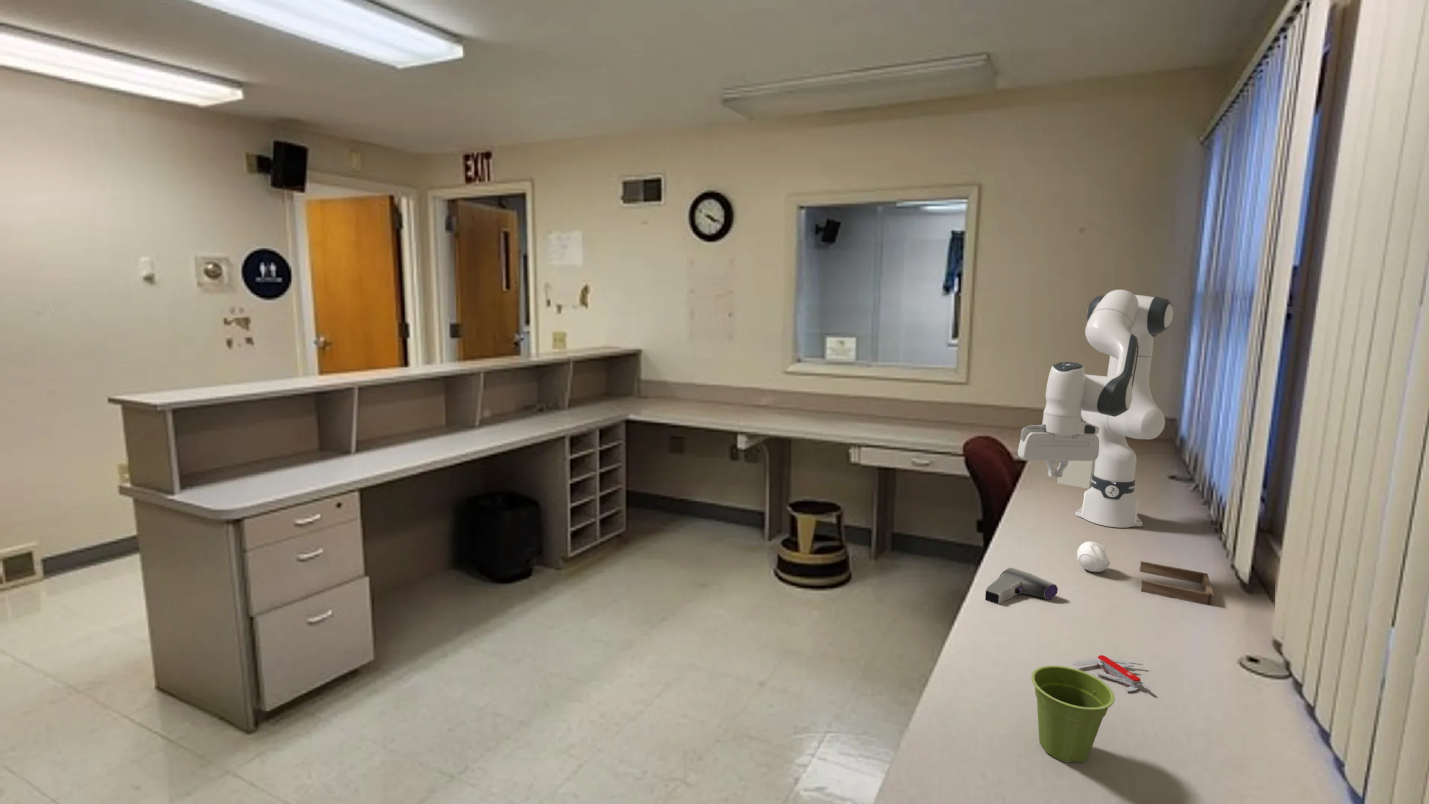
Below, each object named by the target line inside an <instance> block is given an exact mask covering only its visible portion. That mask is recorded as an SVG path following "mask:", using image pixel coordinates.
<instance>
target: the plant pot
mask: <svg viewBox="0 0 1429 804" xmlns="http://www.w3.org/2000/svg"><path fill="white" fill-rule="evenodd" d="M1031 682H1032V685H1033V686H1034V691H1035V692H1034V693H1035V694H1034V695H1035V697H1036V703H1037V704H1036V705H1037V707H1036V709H1037V720H1038V721H1037V723H1038V724H1037V726H1038V740H1039V742H1038V743H1039V745H1040V746H1041V747H1042V749H1043V750H1044V751H1045V753H1047V754H1048V755H1049V754H1050V756H1051V755H1052V756H1051V757H1053V758H1055V757H1056V758H1055V759H1057V760H1059V759H1060V760H1059V761H1062V760H1063V762H1065V761H1066V763H1071V762H1073V763H1074V762H1077V763H1083V762H1085V761H1087V760H1088V759H1089V756H1090V754H1091V752H1092V751H1091V750H1092V748H1093V745H1094V743H1095V740H1096V738H1097V734H1098V733H1099V729H1100V726H1101V724H1102V721H1103V718H1104V717H1106V714H1107V711H1108V709H1109V708H1110V707H1111V706H1113V704H1114V703H1115V701H1116V700H1115V699H1116V697H1115V693H1114V691H1113V690H1112V688H1111V687H1110V686H1109V685H1108V684H1106V682H1104V681H1102V679H1100V678H1098V677H1096V676H1094V675H1093V674H1090V673H1088V672H1086V671H1084V670H1080V669H1077V668H1074V667H1069V666H1064V665H1044V666H1040V667H1037V668H1036V669H1034V670H1033V671H1032V673H1031Z"/></svg>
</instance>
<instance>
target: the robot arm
mask: <svg viewBox="0 0 1429 804" xmlns="http://www.w3.org/2000/svg"><path fill="white" fill-rule="evenodd" d="M1086 315H1087V316H1086V318H1087V319H1086V320H1087V323H1086V325H1085V328H1084V330H1085V331H1084V333H1085V338H1086V340H1087V342H1088V344H1089V345H1090V346H1091V347H1092V348H1093V349H1095V350H1096V351H1098V352H1099V353H1102V354H1105V355H1108V356H1109V359H1108V360H1109V361H1108V368H1107V374H1106V376H1104V375H1097V374H1086V373H1085V367H1084V365H1082V364H1081V363H1078V362H1074V361H1060V362H1057V363H1054V364H1052V366H1051V368H1050V370H1049V374H1048V378H1047V382H1046V388H1045V401H1046V403H1045V408H1044V410H1043V415H1042V421H1041V422H1042V423H1041V424H1027V425H1026V426H1024V427H1022V429H1021V430H1020V441H1019V444H1018V448H1017V449H1018V450H1017V455H1018V456H1019V458H1020V459H1022V460H1024V461H1039V462H1040V461H1044V463H1045V466H1046V467H1047V469H1048V473H1047V474H1048V475H1047V476H1049V477H1050V478H1058V477H1062V475H1063V471H1064V469H1065V468H1066V467H1067V466H1068V461H1095V469H1094V474H1093V475H1092V478H1091V487H1090V488H1089V489H1088V488H1087V490H1086V491H1084V492H1083V501H1082V505H1081V507H1080V508H1079V509H1077V510H1076V511H1075V513H1074V515H1075V516H1076V517H1079V518H1082V519H1084V520H1086V521H1089V522H1091V523H1093V524H1096V525H1099V526H1100V525H1101V526H1105V527H1110V528H1120V529H1121V528H1122V529H1123V528H1131V527H1132V528H1133V527H1143V525H1144V524H1143V523H1144V522H1143V521H1141V519H1140V518H1139V516H1138V506H1139V499H1138V498H1137V497H1136V495H1135V493H1134V492H1135V488H1136V480H1135V474H1136V466H1137V455H1136V452H1135V451H1134V450H1133V449H1132V448H1131V447H1130V446H1129V444H1128V442H1127V439H1126V438H1127V437H1128V438H1130V439H1135V440H1153V439H1156V438H1157V437H1159V435H1161V433H1162V432H1163V431H1164V429H1165V424H1166V418H1165V415H1164V413H1163V411H1162V410H1161V409H1160V408H1159V407H1158V405H1157V404H1156V402H1155V401H1154V398H1153V396H1152V393H1151V388H1150V387H1151V386H1150V373H1151V366H1152V365H1151V364H1152V358H1153V352H1154V351H1153V349H1154V338H1155V337H1156V336H1157V335H1158V334H1162V333H1163V332H1165V331H1166V330H1167V329H1168V328H1169V326H1170V325H1171V322H1172V320H1173V316H1174V309H1173V304H1172V303H1171V301H1170V300H1169V299H1168V298H1165V297H1160V296H1157V295H1156V296H1149V295H1141V294H1140V295H1139V294H1134V293H1132V292H1131V291H1128V290H1126V289H1114V290H1111V291H1109V292H1108V293H1106V294H1102V295H1098V296H1096V297H1094V298H1093V299H1091V300H1090V303H1089V304H1088V307H1087V312H1086ZM1057 461H1058V463H1060V465H1059V464H1058V467H1057V468H1054V466H1053V465H1055V463H1056V462H1057Z"/></svg>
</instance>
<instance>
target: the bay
mask: <svg viewBox="0 0 1429 804" xmlns="http://www.w3.org/2000/svg"><path fill="white" fill-rule="evenodd" d="M1139 572H1141V573H1145V574H1146V573H1147V574H1151V575H1155V576H1162V577H1167V578H1171V579H1172V578H1173V579H1177V580H1183V581H1187V582H1192V583H1199V584H1201V585H1202V586H1201V587H1202V590H1203V591H1201V590H1199V591H1198V590H1193V589H1189V588H1185V587H1184V588H1183V587H1178V586H1174V585H1173V586H1172V585H1168V584H1164V583H1163V584H1162V583H1159V582H1158V583H1157V582H1153V581H1149V580H1144V579H1142V580H1141V585H1140V592H1142V593H1148V594H1153V595H1158V596H1163V597H1168V598H1172V599H1173V598H1174V599H1178V600H1181V601H1182V600H1183V601H1186V602H1187V601H1188V602H1191V603H1197V604H1201V605H1202V604H1203V605H1206V606H1211V607H1212V606H1213V604H1214V597H1215V595H1214V591H1213V588H1212V584H1211V581H1210V578H1209V574H1208V573H1205V572H1200V571H1195V570H1191V569H1184V568H1180V567H1175V566H1168V565H1164V564H1163V565H1162V564H1158V563H1154V562H1153V563H1152V562H1147V561H1142V560H1141V561H1140V565H1139Z"/></svg>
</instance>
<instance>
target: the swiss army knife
mask: <svg viewBox="0 0 1429 804" xmlns="http://www.w3.org/2000/svg"><path fill="white" fill-rule="evenodd" d="M1092 664H1096V666H1097V667H1099V668H1100V669H1102V670H1103V671H1104V672H1102V671H1100V670H1094V673H1095V674H1097V675H1099V676H1103V677H1107V678H1110V679H1113V680H1115V681H1117V682H1119V683H1122V684H1124V685H1125V686H1127V687H1126V689H1125V691H1126V692H1135V691H1138V690H1140V686H1142V687H1143V688H1144V689H1146V690H1148V691H1151V690H1152V689H1151V688H1150V686H1148V685H1147V684H1145V683H1143V681H1142V680H1141V678H1140V677H1139V676H1137V675H1136V674H1134V673H1132V672H1131V671H1129V670H1128V668H1135V665H1138V666H1144V663H1141V662H1136V661H1134V662H1133V661H1128V660H1122V659H1121V660H1120V659H1114V658H1109V657H1107V656H1105V655H1103V654H1101V655H1098V656H1096V658H1093V659H1092V658H1091V659H1084V660H1077V661H1074V662H1073V663H1072V666H1085V665H1092ZM1105 672H1106V673H1105ZM1107 673H1108V674H1107Z"/></svg>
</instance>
